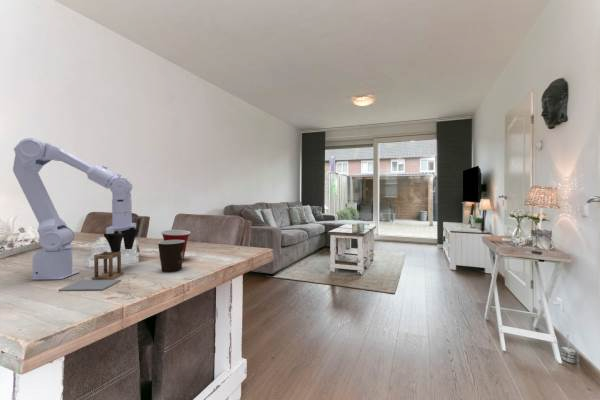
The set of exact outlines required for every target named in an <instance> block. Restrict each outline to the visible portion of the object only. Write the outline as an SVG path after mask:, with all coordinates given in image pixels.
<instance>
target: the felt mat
mask: <svg viewBox="0 0 600 400" xmlns="http://www.w3.org/2000/svg"><path fill="white" fill-rule="evenodd" d="M121 281H122V280H121V279H114V280H92V279H80V280H78V281H75V282H73V283H70V284H68V285H66V286H63V287H61V288H59V289H58V291H57V292H84V291H85V292H90V291H92V292H93V291H97V292H98V291H101V292H102V291H105V290H106V289H109V288H111V287H112V286H114V285H117V283H120V282H121Z"/></svg>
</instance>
